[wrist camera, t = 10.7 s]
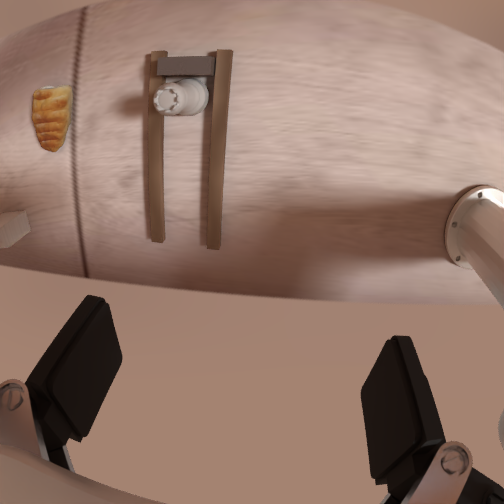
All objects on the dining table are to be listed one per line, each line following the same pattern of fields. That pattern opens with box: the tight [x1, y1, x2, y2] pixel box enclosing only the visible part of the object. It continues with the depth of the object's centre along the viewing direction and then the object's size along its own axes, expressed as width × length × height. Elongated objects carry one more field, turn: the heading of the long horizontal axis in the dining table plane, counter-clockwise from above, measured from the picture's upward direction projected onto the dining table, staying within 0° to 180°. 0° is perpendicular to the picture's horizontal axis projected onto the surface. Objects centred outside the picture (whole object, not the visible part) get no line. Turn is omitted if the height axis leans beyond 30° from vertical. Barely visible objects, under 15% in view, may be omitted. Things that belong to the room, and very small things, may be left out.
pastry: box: [32, 85, 73, 152], centre depth 32 cm, size 9×7×4 cm
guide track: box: [148, 49, 233, 250], centre depth 34 cm, size 9×24×1 cm, turn 175°
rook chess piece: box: [153, 78, 209, 116], centre depth 28 cm, size 4×4×8 cm
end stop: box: [157, 56, 216, 76], centre depth 29 cm, size 6×2×3 cm, turn 85°
